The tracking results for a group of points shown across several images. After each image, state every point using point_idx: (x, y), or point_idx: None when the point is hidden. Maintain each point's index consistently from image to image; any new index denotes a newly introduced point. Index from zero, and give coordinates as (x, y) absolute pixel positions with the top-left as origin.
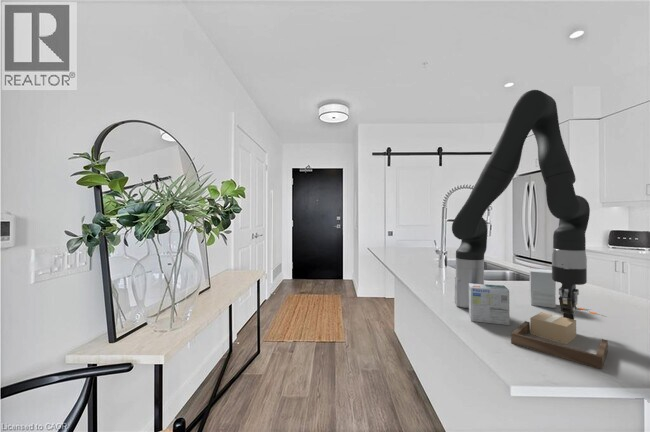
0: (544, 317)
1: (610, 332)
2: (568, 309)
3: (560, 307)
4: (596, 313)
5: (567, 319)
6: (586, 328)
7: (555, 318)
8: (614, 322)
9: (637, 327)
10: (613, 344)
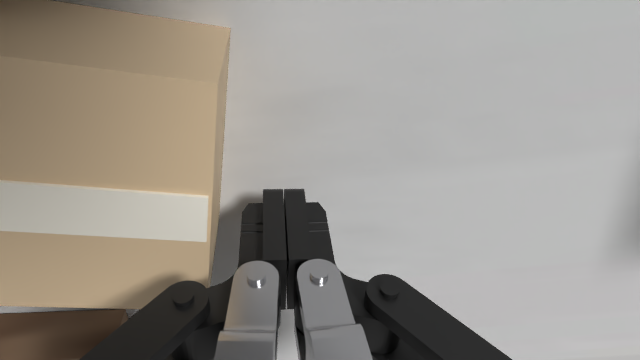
0: (12, 147)
1: (438, 302)
2: (175, 355)
3: (105, 338)
4: None
5: (165, 276)
6: (438, 234)
7: (77, 224)
8: (629, 296)
9: (583, 346)
10: None
